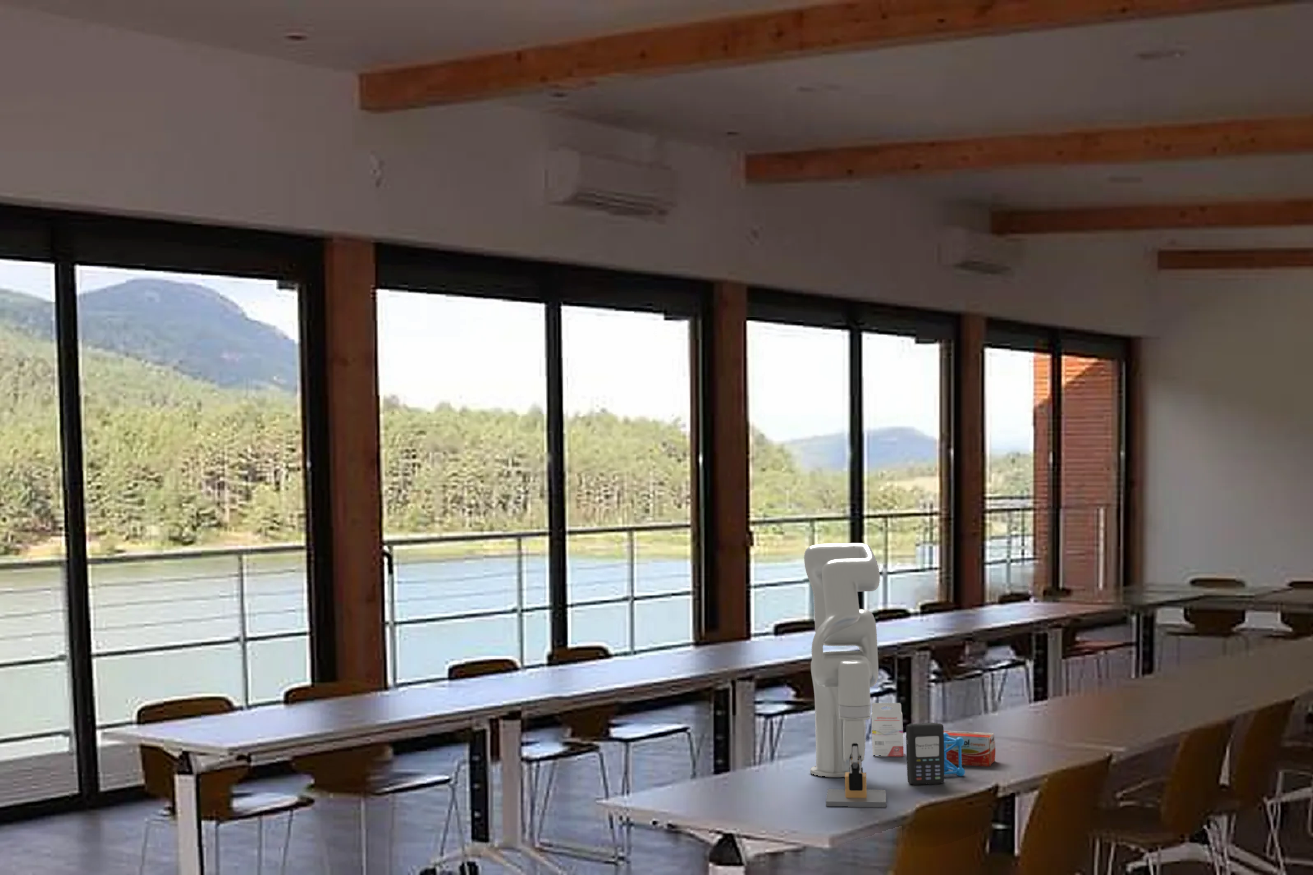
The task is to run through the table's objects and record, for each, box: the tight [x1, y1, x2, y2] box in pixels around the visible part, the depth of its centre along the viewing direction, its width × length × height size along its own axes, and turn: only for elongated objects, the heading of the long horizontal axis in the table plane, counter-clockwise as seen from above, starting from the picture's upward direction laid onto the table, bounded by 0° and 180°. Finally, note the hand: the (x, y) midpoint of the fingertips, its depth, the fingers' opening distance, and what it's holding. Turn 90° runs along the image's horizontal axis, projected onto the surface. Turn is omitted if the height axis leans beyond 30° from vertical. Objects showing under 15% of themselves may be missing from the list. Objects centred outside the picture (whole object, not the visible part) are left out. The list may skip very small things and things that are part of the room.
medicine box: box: [944, 730, 996, 768], centre depth 412 cm, size 15×8×8 cm, turn 69°
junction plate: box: [825, 788, 887, 808], centre depth 367 cm, size 14×14×5 cm
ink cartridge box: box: [870, 702, 904, 758], centre depth 425 cm, size 9×5×15 cm, turn 81°
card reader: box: [905, 722, 945, 786], centre depth 385 cm, size 9×4×15 cm, turn 99°
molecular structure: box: [944, 733, 966, 777], centre depth 396 cm, size 10×10×10 cm
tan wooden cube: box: [844, 772, 868, 798], centre depth 367 cm, size 5×5×5 cm
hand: (856, 786), depth 367 cm, fingers open, 6 cm apart
